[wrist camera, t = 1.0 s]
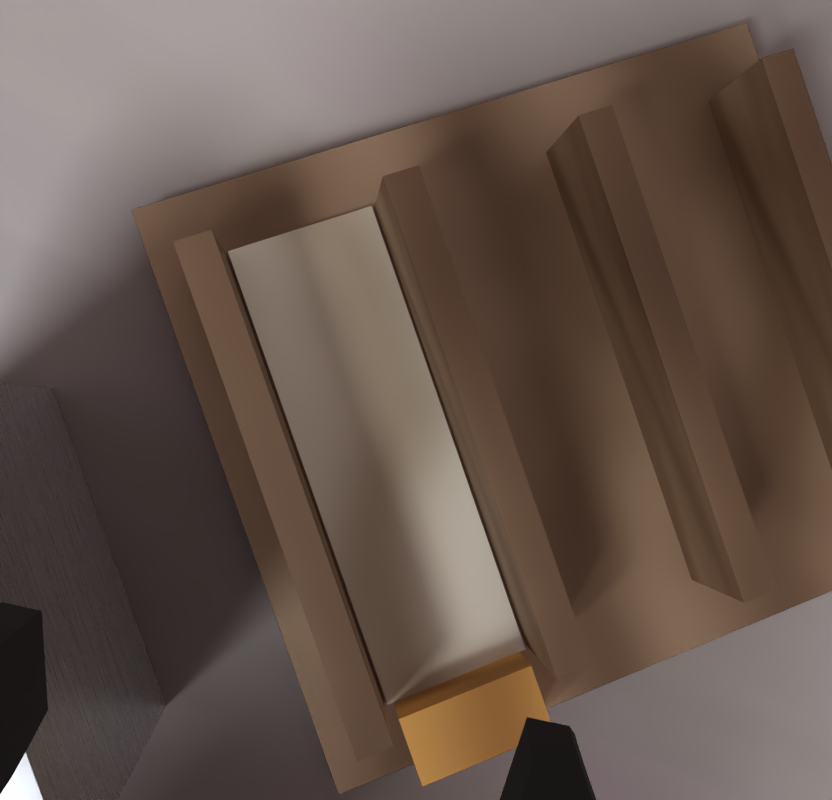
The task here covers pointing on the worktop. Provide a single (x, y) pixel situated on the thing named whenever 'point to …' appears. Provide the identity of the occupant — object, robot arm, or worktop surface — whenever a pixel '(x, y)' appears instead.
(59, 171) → the worktop surface
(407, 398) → the slot rack
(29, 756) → the grey brushed metal block
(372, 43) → the worktop surface
